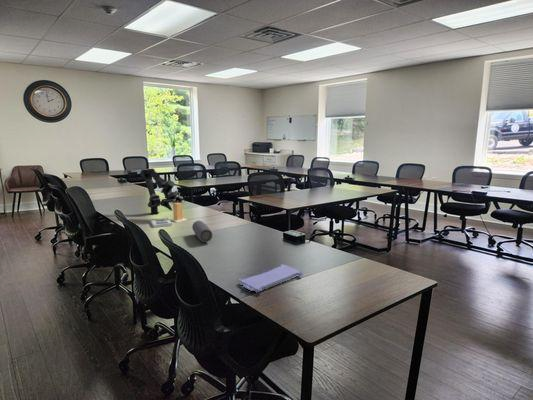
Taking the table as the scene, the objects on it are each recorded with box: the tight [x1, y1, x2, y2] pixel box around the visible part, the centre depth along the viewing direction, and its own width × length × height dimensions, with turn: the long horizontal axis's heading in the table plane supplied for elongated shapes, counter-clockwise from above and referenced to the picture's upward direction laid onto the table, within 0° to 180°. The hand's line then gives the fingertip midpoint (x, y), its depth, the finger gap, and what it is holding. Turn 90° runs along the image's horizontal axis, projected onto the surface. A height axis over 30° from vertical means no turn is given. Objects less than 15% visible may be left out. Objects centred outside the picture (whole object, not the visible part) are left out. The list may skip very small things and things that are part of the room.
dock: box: [150, 217, 173, 228], centre depth 252 cm, size 18×13×2 cm
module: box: [172, 202, 184, 221], centre depth 261 cm, size 5×5×13 cm
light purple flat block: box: [238, 263, 303, 292], centre depth 156 cm, size 30×4×15 cm
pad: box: [169, 217, 188, 223], centre depth 263 cm, size 10×10×1 cm
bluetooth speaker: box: [191, 220, 213, 243], centre depth 216 cm, size 23×9×10 cm, turn 23°
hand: (176, 209), depth 262 cm, fingers open, 9 cm apart
